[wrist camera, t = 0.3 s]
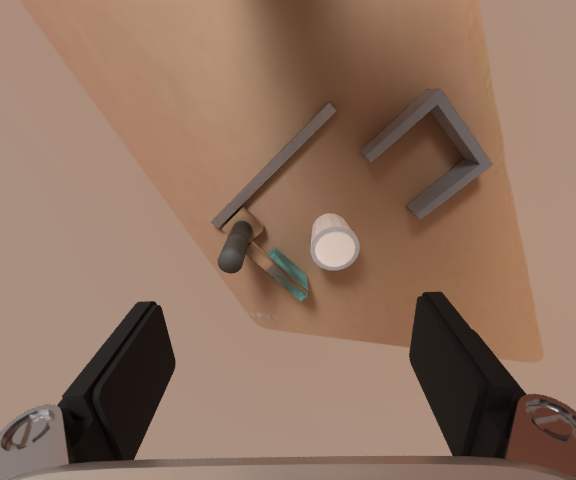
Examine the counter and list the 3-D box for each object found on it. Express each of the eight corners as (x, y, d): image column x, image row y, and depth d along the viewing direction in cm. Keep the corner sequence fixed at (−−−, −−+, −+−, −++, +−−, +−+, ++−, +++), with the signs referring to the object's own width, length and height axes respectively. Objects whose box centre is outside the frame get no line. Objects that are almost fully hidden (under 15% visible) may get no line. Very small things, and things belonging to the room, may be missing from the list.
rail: (212, 219, 48) (210, 222, 47) (328, 102, 40) (329, 102, 39) (219, 225, 48) (217, 228, 47) (335, 110, 41) (336, 111, 40)
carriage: (224, 224, 48) (204, 262, 37) (243, 206, 46) (228, 239, 36) (294, 286, 52) (294, 335, 42) (313, 270, 51) (318, 317, 40)
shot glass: (310, 251, 50) (313, 274, 44) (305, 212, 47) (307, 230, 41) (352, 246, 49) (361, 268, 43) (349, 206, 47) (358, 223, 40)
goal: (359, 151, 43) (365, 156, 39) (427, 89, 40) (440, 88, 36) (410, 210, 47) (420, 220, 43) (476, 159, 43) (493, 164, 40)
